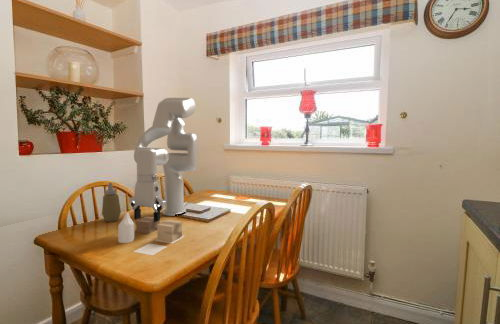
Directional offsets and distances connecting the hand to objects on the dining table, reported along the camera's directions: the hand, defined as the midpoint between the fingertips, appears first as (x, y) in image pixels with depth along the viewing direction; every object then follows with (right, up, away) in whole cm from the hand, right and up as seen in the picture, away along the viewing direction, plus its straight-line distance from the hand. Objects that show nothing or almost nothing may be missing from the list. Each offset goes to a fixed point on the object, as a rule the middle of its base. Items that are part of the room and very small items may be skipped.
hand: (147, 219), depth 115 cm
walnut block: (0, -6, +1) cm, 6 cm away
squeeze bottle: (-24, -4, +18) cm, 30 cm away
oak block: (+12, -6, -8) cm, 15 cm away
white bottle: (-4, -7, -10) cm, 13 cm away
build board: (+10, -7, -13) cm, 18 cm away
